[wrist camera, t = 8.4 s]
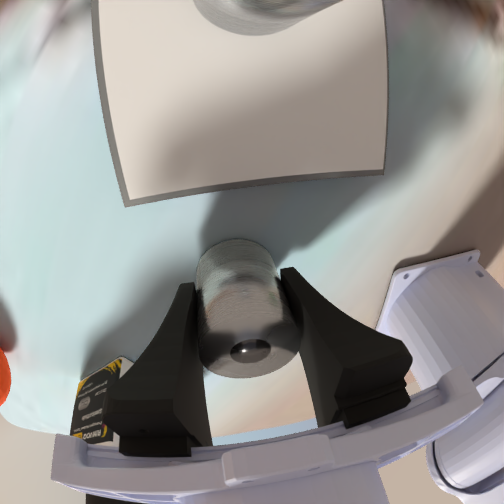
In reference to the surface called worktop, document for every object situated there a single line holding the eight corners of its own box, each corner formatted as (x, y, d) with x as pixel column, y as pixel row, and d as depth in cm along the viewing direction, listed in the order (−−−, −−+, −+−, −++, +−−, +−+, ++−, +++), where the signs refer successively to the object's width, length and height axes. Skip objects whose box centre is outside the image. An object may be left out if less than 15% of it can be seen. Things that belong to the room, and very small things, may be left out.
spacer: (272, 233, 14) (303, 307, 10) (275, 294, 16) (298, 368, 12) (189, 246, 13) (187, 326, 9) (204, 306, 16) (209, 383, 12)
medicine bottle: (121, 353, 18) (110, 519, 8) (190, 390, 21) (203, 526, 12) (78, 380, 19) (63, 507, 9) (140, 411, 23) (141, 523, 13)
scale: (350, -70, 5) (379, -89, 3) (366, 163, 13) (398, 185, 10) (105, -61, 4) (86, -85, 2) (133, 192, 12) (117, 221, 9)
